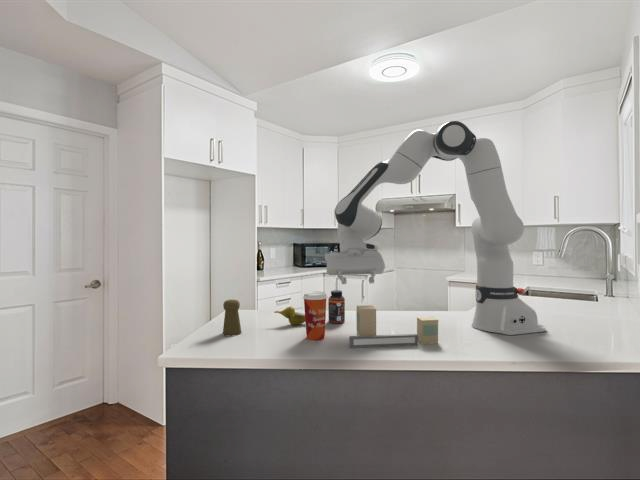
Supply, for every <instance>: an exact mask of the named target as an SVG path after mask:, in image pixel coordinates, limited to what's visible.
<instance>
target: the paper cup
mask: <svg viewBox="0 0 640 480" xmlns="http://www.w3.org/2000/svg"><path fill="white" fill-rule="evenodd" d="M302 299H303V304H304V305H303V306H304V307H303V308H304V314H305V322H304V323H305V333H306V339H308V340H311V341H320V340H324V339H325V334H326V315H327V314H326V312H327V299H328V296H327V293H326V292H324V291H318V290H317V291H307V292H304V294H303V296H302Z"/></svg>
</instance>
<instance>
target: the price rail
mask: <svg viewBox="0 0 640 480" xmlns="http://www.w3.org/2000/svg"><path fill="white" fill-rule="evenodd" d="M348 338H349V339H348V341H349V348H350V349H353V348H354V349H355V348H357V349H358V348H378V347H379V346H380V347H381V346H385V347H406V346H405V345H411V346H418V345H419V341H418V335H417V333H403V334H402V333H401V334H378V335H377V334H376V335H370V336H357V335H352V336H351V335H350V336H349V337H348ZM380 347H379V348H380Z"/></svg>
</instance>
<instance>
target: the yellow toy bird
mask: <svg viewBox="0 0 640 480" xmlns="http://www.w3.org/2000/svg"><path fill="white" fill-rule="evenodd" d="M273 313H275V314H276V313H277V314H280V315H282V316H283V317H285V318H286V319H288V323H289V324H291V325H292V326H298V325H302V324H304V323H306V322H305V313H301V312H298V311H296V309H295V307H293V306H288V307H286V308H285V309H283V310H281V311H280V310H275V311H274V312H273Z"/></svg>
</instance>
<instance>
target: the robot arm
mask: <svg viewBox="0 0 640 480" xmlns="http://www.w3.org/2000/svg"><path fill="white" fill-rule="evenodd" d="M432 158H433V159H434V158H435V159H438V160H441V161H445V162H448V161H449V162H451V161H455V160H456V159H459V160H460V161H461V162H462V164H463V167H464V171H465V176H466V181H467V186H468V191H469V195H470V199H471V201H472V202H473V204H474V206H475V209H476V211H477V213H478V216H477V217H476V218H475V219H474V220H473V222H472V223H471V227H470V228H471V229H470V231H471V233H472V236H473V237H472V238H473V244H474V251H475V255H476V256H475V257H476V275H477V276H476V285H475V301H476V302H475V310H474V316H473V318H472V322H471V326H472V328H475V329H477V330H480V331H484V332H485V331H486V332H489V333H491V332H492V333H497V334H498V333H499V334H502V335H506V336H507V335H508V336H514V335H524V334H532V333H541V332H546V331H547V328H546V326H544V325H542V324H541V323H539V321H538V314H537V312H536V310H535V309H534V308H532V307H531V306H530V305H528V304H527V303H526V302H525V301H523V300H522V299H521V298H520V297H519V295H522V296H524V295H525V293H526V290H525V289H524V288H520V287H515V286H514V262H513V260H512V257H511V254H510V249H509V245H512V244H514V243H516V242H518V241H519V240H520V239H521V238H522V236H523V234H524V231H525V226H524V223H523V220H522V219H521V218H520V217H519V216H518V214H517V212H516V209H515V207H514V205H513V202H512V200H511V198H510V196H509V193H508V190H507V187H506V181H505V177H504V173H503V168H502V162H501V159H500V156H499V153H498V150H497V148H496V146H495V144H494V141H492V139H490V138H487V137H486V138H485V137H478V138H477V135H475V134H474V132H472V131H471V129H469V127H468V126H467V125H466V124H465V123H463V122H462V121H459V120H451V121H446V123H443V124H442V125H441V126H440V127H439V128H438V129H437V131H436V133H430V132H428V131H426V130H423V129H416V130H413V131H412V132H411V133H410V134H409V135H408V136H407V137H406V138H405V139H404V140H403V141H402V142H401V144H400V145H399V146H398V147H397V149H396V151H395V152H394V153H393V155H392V156H390V158H388V159H387V160H385V161H380V162H378V163H376V164H375V165H374V167H372V168H371V169H370V171H368V172H367V173H366V174H365V176H364V177H362V179H361V180H360V181H359V182H358V183H357V185H356V186H354V188H352V190H350V192H349V193H348V194H347V195H345V196H344V197H343V198H342V199H341V200H340V201H339V202H338V203H337V204H336V206H335V208H334V215H335V216H334V217H335V220H336V222H337V223H338V224H337V237H338V241H339V251H329V252H327V253H325V254H324V261H325V262H326V274H328V275H329V276H337V278H338V279H339V281H341V285H347V282H348V281H347V277H345V276H350V275H352V276H353V275H354V276H355V275H370V276H368V277H369V278H368V282H369V284H370V285H371V284H374V283H375V277H376V275H382V274H383V273H384V271H385V269H386V265H385V261H384V258H383V256H382V254H381V252H379V250H378V249H379V248H378V245H377V244H373V243H369V242H367V241H369V240H370V239H372V238H374V237H376V235H378V234H379V233H380V231H381V230H382V226H383V225H382V224H383V217H382V216H381V214H379V213H378V212H376V211H374V210H373V209H372V208H369V207H368V206H367V205H364V204H363V202H364V201H365V199H366V198H367V197H368V196H369V195H370V194H371V193H372V192H373V190H375V188H377V187H378V186H379V185H380V184H384V183H387V184H389V183H390V184H394V185H406V184H409V183H412V182H413V181H414V180H415V179H417V177H418V175H420V173H421V171H422V170H423V169H424V167H425V166H426V164H427V163H428V161H429V160H430V159H432Z"/></svg>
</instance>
